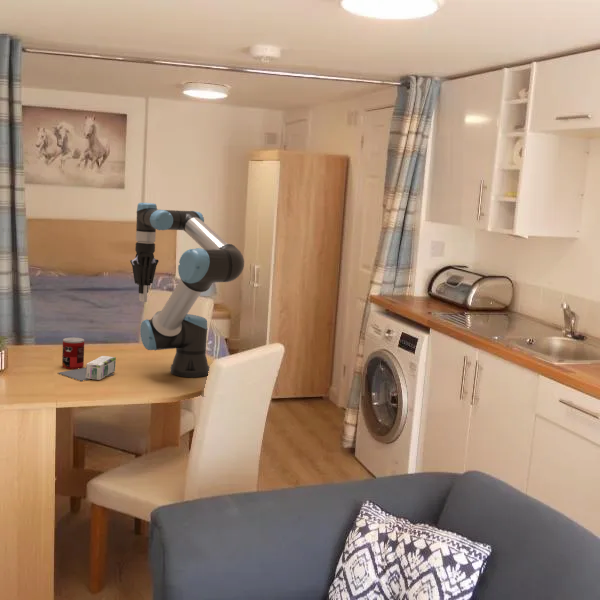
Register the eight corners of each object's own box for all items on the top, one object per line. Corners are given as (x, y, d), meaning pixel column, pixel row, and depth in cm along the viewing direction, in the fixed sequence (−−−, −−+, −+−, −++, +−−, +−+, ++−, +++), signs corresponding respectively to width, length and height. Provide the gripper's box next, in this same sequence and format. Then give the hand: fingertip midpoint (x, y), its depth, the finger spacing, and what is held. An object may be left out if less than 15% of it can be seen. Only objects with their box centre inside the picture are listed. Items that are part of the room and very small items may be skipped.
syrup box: (115, 371, 284) (100, 380, 269) (100, 369, 284) (84, 378, 270) (116, 356, 283) (100, 365, 268) (101, 355, 283) (85, 363, 269)
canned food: (60, 365, 288) (61, 337, 287) (81, 364, 292) (82, 337, 290) (64, 369, 282) (64, 341, 280) (85, 368, 285) (86, 341, 284)
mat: (113, 375, 279) (113, 374, 279) (81, 381, 267) (81, 380, 267) (90, 367, 287) (90, 366, 287) (57, 373, 275) (57, 372, 275)
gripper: (151, 241, 296) (148, 298, 300) (126, 241, 286) (123, 301, 289) (164, 243, 292) (161, 301, 295) (139, 243, 281) (136, 304, 285)
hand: (142, 301), depth 292 cm, fingers closed
